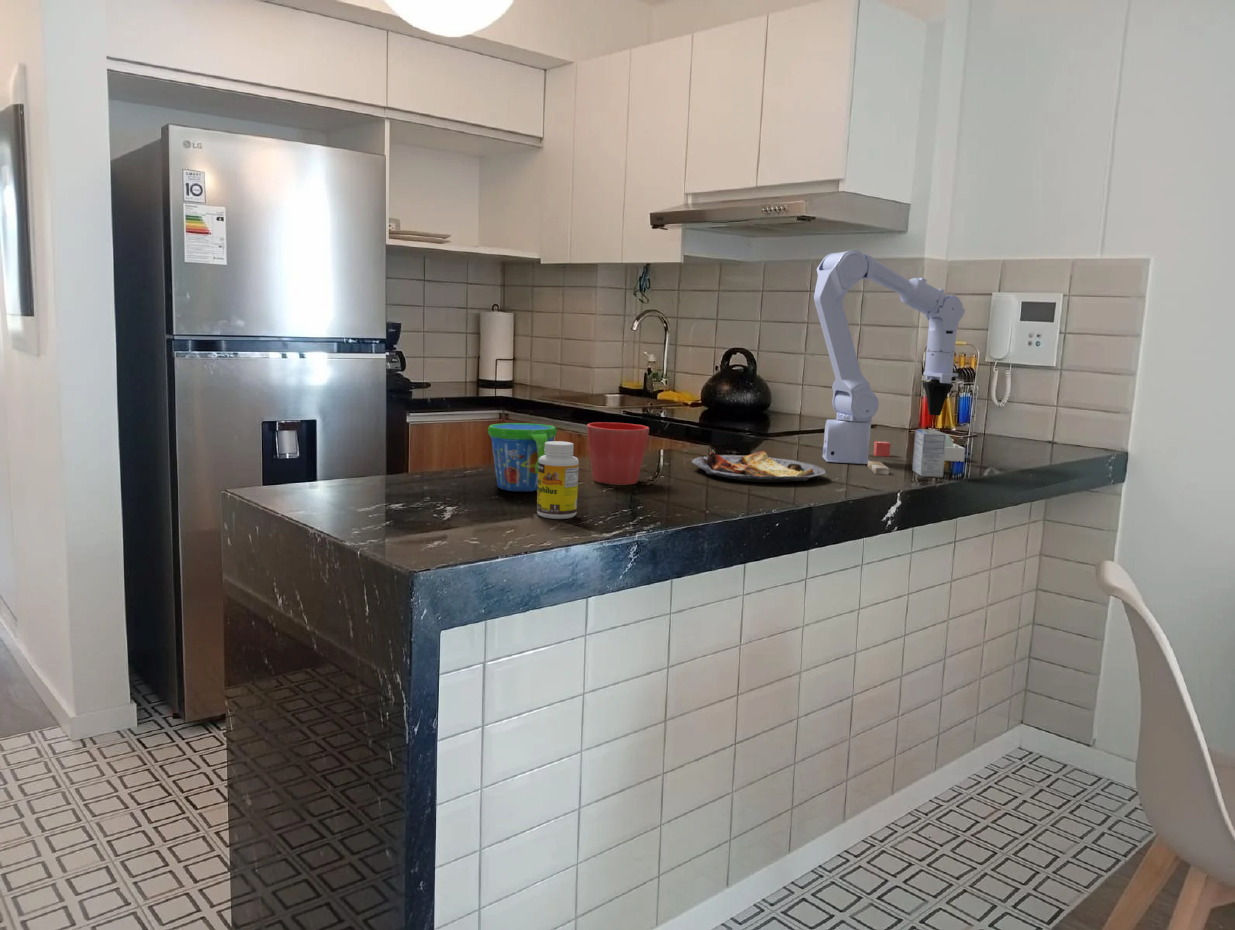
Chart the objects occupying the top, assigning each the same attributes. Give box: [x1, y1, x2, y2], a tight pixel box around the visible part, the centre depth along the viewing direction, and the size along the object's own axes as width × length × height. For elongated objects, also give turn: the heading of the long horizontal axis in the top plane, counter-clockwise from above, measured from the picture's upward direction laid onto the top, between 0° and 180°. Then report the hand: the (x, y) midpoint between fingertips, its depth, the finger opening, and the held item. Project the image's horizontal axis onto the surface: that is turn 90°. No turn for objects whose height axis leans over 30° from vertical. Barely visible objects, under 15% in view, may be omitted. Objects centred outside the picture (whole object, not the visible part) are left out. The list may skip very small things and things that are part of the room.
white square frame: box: [944, 443, 966, 463], centre depth 210 cm, size 9×9×3 cm
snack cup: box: [487, 422, 557, 493], centre depth 147 cm, size 16×10×10 cm
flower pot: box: [586, 421, 650, 486], centre depth 159 cm, size 11×11×10 cm
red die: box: [873, 440, 891, 458], centre depth 210 cm, size 3×3×3 cm
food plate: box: [690, 450, 826, 483], centre depth 174 cm, size 25×23×4 cm
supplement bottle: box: [536, 440, 580, 520], centre depth 128 cm, size 6×6×10 cm
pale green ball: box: [943, 432, 954, 447], centre depth 210 cm, size 6×6×6 cm
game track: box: [867, 460, 890, 476], centre depth 186 cm, size 2×10×1 cm, turn 174°
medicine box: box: [911, 428, 947, 479], centre depth 183 cm, size 8×4×9 cm, turn 174°
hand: (934, 415), depth 200 cm, fingers closed
